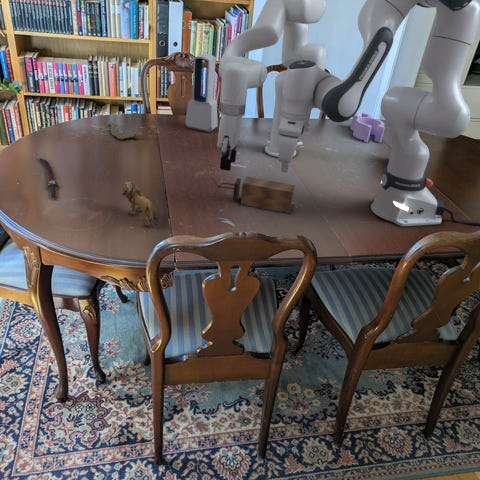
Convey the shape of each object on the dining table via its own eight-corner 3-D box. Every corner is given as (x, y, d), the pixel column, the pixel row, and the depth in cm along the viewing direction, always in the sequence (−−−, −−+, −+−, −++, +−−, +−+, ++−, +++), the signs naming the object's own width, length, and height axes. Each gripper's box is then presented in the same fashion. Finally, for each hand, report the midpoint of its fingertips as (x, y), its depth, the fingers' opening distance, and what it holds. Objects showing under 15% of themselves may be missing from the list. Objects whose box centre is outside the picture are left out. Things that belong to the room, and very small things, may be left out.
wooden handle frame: (215, 196, 149) (216, 180, 146) (219, 190, 153) (220, 175, 150) (277, 208, 147) (280, 191, 144) (279, 202, 150) (282, 186, 147)
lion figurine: (118, 210, 138) (116, 182, 133) (132, 204, 141) (131, 177, 137) (151, 229, 130) (150, 201, 126) (165, 223, 134) (165, 195, 129)
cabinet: (240, 204, 148) (242, 183, 144) (244, 197, 153) (246, 176, 149) (289, 213, 146) (292, 192, 142) (291, 205, 150) (294, 185, 146)
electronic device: (217, 128, 204) (222, 56, 188) (211, 133, 198) (215, 59, 182) (191, 123, 207) (194, 51, 191) (184, 127, 201) (186, 54, 185)
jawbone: (125, 144, 181) (124, 139, 180) (93, 130, 191) (92, 125, 190) (143, 137, 187) (142, 132, 185) (111, 123, 197) (110, 119, 196)
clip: (343, 126, 223) (346, 112, 219) (367, 127, 225) (371, 113, 221) (360, 142, 206) (364, 127, 202) (386, 142, 209) (390, 127, 205)
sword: (61, 197, 141) (61, 193, 140) (50, 198, 139) (50, 194, 139) (49, 160, 164) (48, 156, 163) (39, 160, 163) (39, 157, 162)
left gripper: (227, 98, 143) (222, 153, 153) (212, 114, 129) (208, 174, 138) (250, 102, 142) (245, 157, 152) (238, 119, 128) (233, 178, 137)
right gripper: (287, 108, 143) (281, 151, 150) (277, 129, 125) (270, 176, 133) (307, 112, 142) (300, 154, 149) (300, 133, 125) (292, 180, 132)
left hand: (227, 165), depth 145 cm, fingers open, 5 cm apart
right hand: (286, 165), depth 141 cm, fingers open, 8 cm apart
